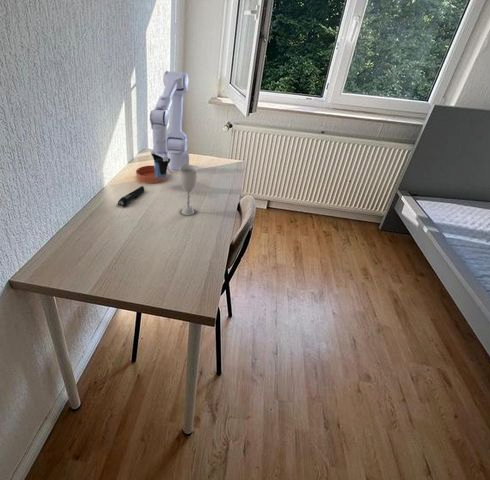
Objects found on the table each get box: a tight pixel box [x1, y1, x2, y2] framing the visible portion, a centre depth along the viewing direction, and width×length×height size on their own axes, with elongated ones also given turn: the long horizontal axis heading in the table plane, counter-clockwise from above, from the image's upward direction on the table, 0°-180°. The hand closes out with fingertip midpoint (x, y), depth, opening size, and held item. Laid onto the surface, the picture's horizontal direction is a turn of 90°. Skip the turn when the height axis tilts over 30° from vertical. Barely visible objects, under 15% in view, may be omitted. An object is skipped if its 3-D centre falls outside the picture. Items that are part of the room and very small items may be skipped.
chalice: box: [179, 164, 199, 216], centre depth 132 cm, size 7×7×18 cm
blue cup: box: [153, 160, 168, 178], centre depth 149 cm, size 5×5×6 cm
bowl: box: [135, 165, 168, 184], centre depth 162 cm, size 14×14×4 cm
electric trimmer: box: [117, 185, 145, 208], centre depth 143 cm, size 4×16×3 cm, turn 153°
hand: (160, 171), depth 150 cm, fingers closed on blue cup, 5 cm apart
